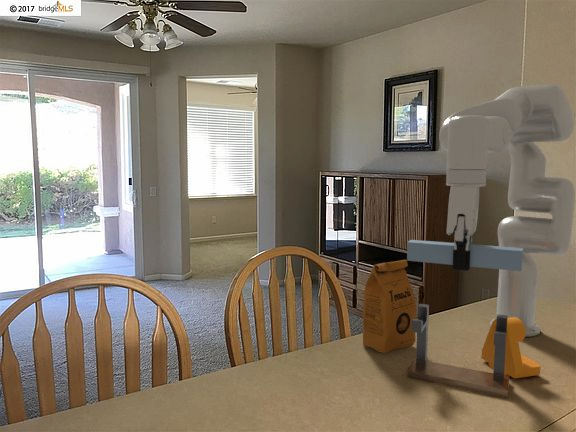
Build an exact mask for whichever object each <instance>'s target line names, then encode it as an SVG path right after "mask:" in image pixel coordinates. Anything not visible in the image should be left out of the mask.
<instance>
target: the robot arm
mask: <svg viewBox="0 0 576 432" xmlns="http://www.w3.org/2000/svg"><path fill="white" fill-rule="evenodd" d="M574 128H575V119H574V114H573V111H572V109H571V106H570V103H569V100H568V97H567V95H566V93H565V91H564V90H563V89H562V87H560V86H559V85H558V84H554V83H549V84H537V85H536V84H533V85H524V86H523V85H522V86H515V87H511V88H509V89H507V90H506V91H505V92H503V93H502V94H500V95H499V96H497V97H496V98H494V99H493V100H490V101H487V102H483V103H480V104H477V105H474V106H471V107H467V108H463V109H461V110H459V111H456V112H454V113H453V114H451V115H449V116H448V117H447V118H446V119H445V120H444V122H443V123H442V125H441V127H440V129H439V135H438V137H439V138H438V139H439V140H438V141H439V143H440V146H441V148H442V149H443V150H444V151H445V152H447V153H446V177H445V182H446V183H445V186H447V187H450V189H449V197H448V208H447V222H446V235H448V236H451V235H452V234H453V233H454V241H453V243H454V250H453V265H452V269H453V270H457V271H469V270H470V251H469V244H473V235H474V233H475V232H476V231H477V225H478V219H479V217H478V216H479V203H480V188H481V187H486V186H487V169H488V168H487V167H488V166H487V165H488V154H490V153H493V154H494V153H499V152H502V151H503V150H505V149H506V148H507V149H508V152H509V156H510V172H509V180H508V189H507V190H508V191H507V204H508V206H509V207H510V209H512V210H514V211H518V212H525V213H526V212H527V213H528V212H529V213H539V214H540V213H542V214H549V215H551V216H552V218H547V217H546V218H545V217H536V216H524V215H523V216H522V215H513V216H512V215H511V216H507V217H505V218H503V219H502V220H501V221H500V222H499V223H498V227H497V240H498V246H501V247H514V248H523V256H522V271H512V270H502V269H498V270H499V271H498V285H497V287H498V288H497V300H496V303H497V304H496V315H497V314H499V315H506V316H508V318H512V317H516V318H519V319H520V320H521V321H522V322H523V324H524V326H525V330H526V335H525V338H526V337H535V336H537V335H539V334H541V333H540V332H541V327H540V326H539V325H538V324H536V323H535V317H536V316H535V315H536V299H537V286H538V285H537V284H538V266H537V264H536V262H535V260H534V258H533V257H532V256H531V254H540V255H547V256H557V257H558V256H564V255H565V254H566V253H567V252H568V251H569V248H570V245H571V239H572V231H573V230H572V229H573V223H574V222H573V221H574V214H575V213H574V211H575V202H576V201H575V198H576V197H575V196H576V191H575V186H574V184H573V182H572V181H571V180H570V179H568V178H564V177H550V176H547V177H546V165H547V158H546V156H545V154H544V153H543V151H542V150H541V148H540V147H539V146H538V145H537V143H541V142H542V143H546V142H564V141H566V140H568V139H569V138H570V137H571V136H572V134H573V132H574ZM535 142H536V143H535ZM495 319H497V316H496V317H495V318H492V319H491V320H490V321H489V326H490V327H491V325H492V322H493V321H494V320H495Z"/></svg>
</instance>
